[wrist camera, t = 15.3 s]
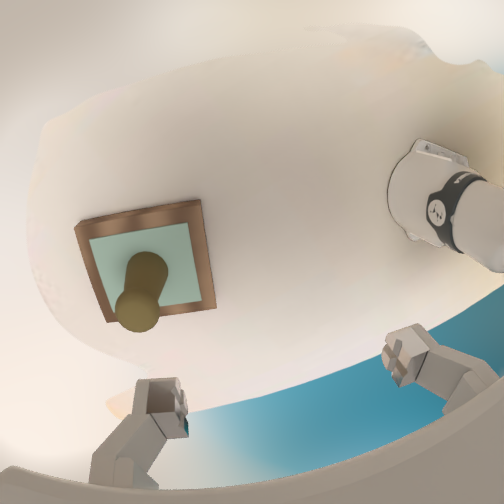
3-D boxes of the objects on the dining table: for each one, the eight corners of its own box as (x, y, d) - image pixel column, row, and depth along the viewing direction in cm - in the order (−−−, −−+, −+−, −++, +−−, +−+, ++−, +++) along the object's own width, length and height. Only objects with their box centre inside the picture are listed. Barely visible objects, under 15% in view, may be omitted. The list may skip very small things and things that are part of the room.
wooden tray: (200, 199, 39) (200, 205, 36) (215, 297, 46) (217, 309, 43) (81, 220, 37) (73, 228, 34) (110, 311, 44) (106, 323, 41)
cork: (177, 273, 39) (174, 322, 30) (148, 297, 40) (138, 348, 30) (147, 242, 37) (132, 285, 27) (118, 269, 37) (98, 316, 28)
